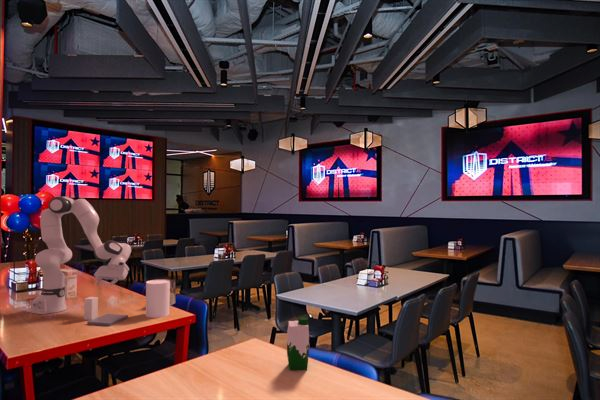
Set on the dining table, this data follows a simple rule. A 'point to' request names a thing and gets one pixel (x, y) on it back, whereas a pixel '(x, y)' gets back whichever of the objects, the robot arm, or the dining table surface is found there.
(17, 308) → the dining table surface
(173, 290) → the coffee box
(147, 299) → the canister
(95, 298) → the white post
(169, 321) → the dining table surface
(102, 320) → the slate board
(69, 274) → the coffeecake box
